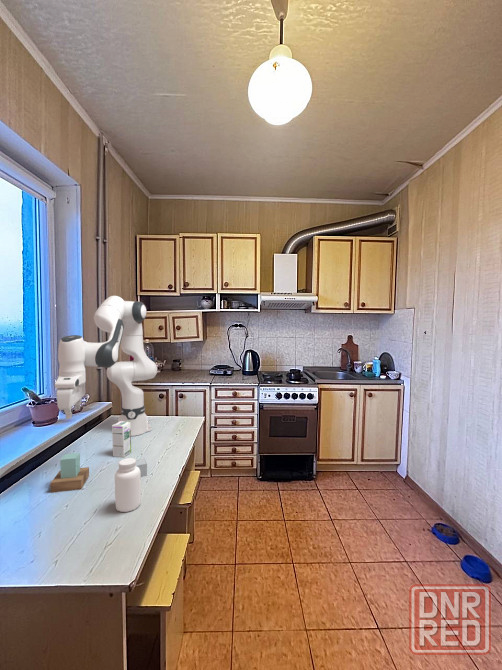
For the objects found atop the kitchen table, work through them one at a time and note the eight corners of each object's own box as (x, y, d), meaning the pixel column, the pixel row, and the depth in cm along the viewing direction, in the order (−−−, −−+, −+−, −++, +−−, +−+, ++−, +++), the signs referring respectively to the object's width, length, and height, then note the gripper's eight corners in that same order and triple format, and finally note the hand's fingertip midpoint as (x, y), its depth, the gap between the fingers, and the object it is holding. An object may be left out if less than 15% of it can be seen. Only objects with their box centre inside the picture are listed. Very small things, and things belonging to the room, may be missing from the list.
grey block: (131, 473, 125) (131, 461, 125) (144, 470, 127) (144, 458, 127) (133, 478, 120) (133, 466, 120) (147, 476, 123) (146, 463, 123)
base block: (60, 479, 120) (60, 469, 120) (89, 477, 122) (88, 467, 122) (50, 494, 110) (50, 483, 110) (81, 490, 113) (81, 479, 113)
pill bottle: (121, 498, 107) (121, 455, 107) (144, 498, 107) (144, 456, 106) (110, 512, 99) (109, 466, 99) (135, 513, 99) (134, 467, 98)
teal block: (65, 472, 118) (65, 454, 118) (80, 470, 119) (79, 452, 119) (60, 478, 113) (60, 459, 113) (75, 477, 114) (75, 458, 114)
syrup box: (124, 457, 139) (123, 425, 138) (112, 456, 140) (111, 424, 139) (131, 452, 144) (131, 421, 144) (120, 451, 145) (119, 420, 145)
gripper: (72, 373, 127) (73, 406, 128) (52, 385, 107) (53, 424, 109) (89, 372, 129) (90, 405, 130) (72, 384, 109) (73, 422, 110)
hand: (73, 414), depth 119 cm, fingers open, 8 cm apart
